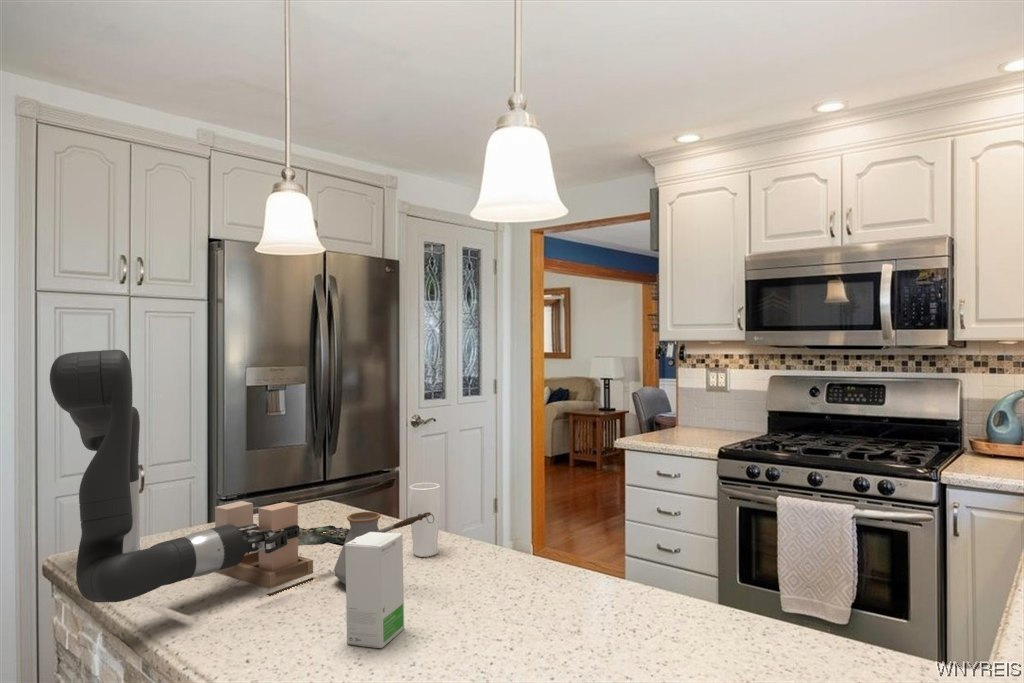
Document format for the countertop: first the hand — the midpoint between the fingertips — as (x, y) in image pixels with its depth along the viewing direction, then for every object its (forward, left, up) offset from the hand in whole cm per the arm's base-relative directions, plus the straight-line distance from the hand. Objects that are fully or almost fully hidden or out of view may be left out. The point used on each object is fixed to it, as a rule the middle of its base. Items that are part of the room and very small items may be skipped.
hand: (290, 528), depth 133 cm
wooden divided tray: (-7, +1, -10) cm, 13 cm away
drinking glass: (+24, +17, -10) cm, 31 cm away
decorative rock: (-4, +25, -11) cm, 28 cm away
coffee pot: (+20, -2, -10) cm, 22 cm away
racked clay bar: (-14, +5, -9) cm, 17 cm away
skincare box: (+24, -24, -10) cm, 35 cm away
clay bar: (-1, -2, -7) cm, 8 cm away
